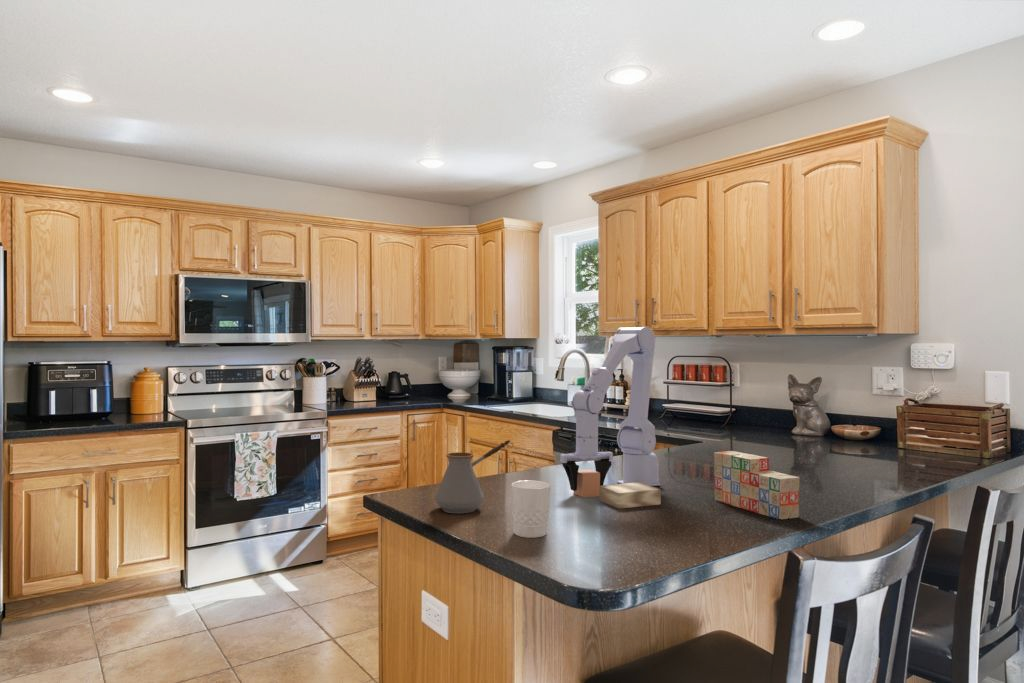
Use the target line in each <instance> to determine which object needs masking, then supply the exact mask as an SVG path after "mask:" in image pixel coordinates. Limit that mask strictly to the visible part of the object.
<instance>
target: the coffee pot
mask: <svg viewBox="0 0 1024 683" xmlns="http://www.w3.org/2000/svg"><path fill="white" fill-rule="evenodd" d="M509 444H511V445H512V446H510V445H509ZM506 445H507V446H508V447H509V448H510V449H511V448H513V447H514V443H513V442H512V441H511V440H510V439H507V440H505V441H504V442H501V443H500V444H499V445H497V446H495V447H493V448H492V449H490V450H488V452H486V453H485V454H483V455H482V456H480V457H479V458H478V459H476V460H474V461H472V458H473V457H474V453H470V452H448V453H446V455H445V456H446V458H447V460H448V465H447V468H446V470H445V472H444V475H443V477H442V479H441V482H440V484H439V486H438V488H437V491H436V494H435V496H434V501H435V503H436V504H437V506H438V507H439V508H441V509H442V511H444V512H445V513H448V514H449V513H450V514H468V513H469V514H470V513H472V512H475V511H476V510H477V508H479V507H480V506H481V505H482V504H483V502H484V499H485V497H484V496H485V495H484V493H483V490H482V488H481V486H480V483H479V480H478V478H477V476H476V473H475V471H474V468H473V467H475V466H476V465H478V464H479V463H481V462H482V461H484V460H485V459H487V458H489V457H491V456H492V455H494V454H496V453H498V452H499V451H500V450H501V449H502V448H505V446H506Z"/></svg>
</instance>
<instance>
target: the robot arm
mask: <svg viewBox="0 0 1024 683" xmlns="http://www.w3.org/2000/svg"><path fill="white" fill-rule="evenodd" d="M612 343H613V344H612V346H611V347H610V350H609V351H608V353H607V355H606V357H605V359H604V361H603V364H602V365H601V367H596V368H595V369H593V370H592V372H591V374H590V376H589V378H588V379H587V381H586V382H585V384H584V385H583V387H582V389H580V390H578V391H576V392H575V393H574V394H573V397H572V400H571V401H570V404H571V407H572V410H573V413H574V417H575V421H576V422H575V452H571V453H566V454H565V453H563V454H562V453H561V454H560V458H559V460H560V463H561V464H562V467H563V469H564V470H565V473H566V476H567V479H568V482H569V487H570V488H569V489H570V490H571V491H573V492H574V491H577V475H578V470H580V469H579V468H580V465H578V464H577V463H578V462H593V461H594V462H593V463H594V469H595V471H596V472H599V473H600V486H601V485H605V484H604V483H605V479H606V476H607V474H608V472H609V470H610V468H611V467H612V461H613V459H614V452H613V451H599V413H600V411H601V410H602V409H603V407H604V401H605V396H606V393H607V392H608V390H609V388H610V386H611V385H612V383H613V382H614V375H613V373H614V372H615V370H616V369H617V368H618V367H619V366H620V364H621V362H622V361H623V360H624V359H625V358H626V356H628V357H629V358H630V359H631V361H632V362H633V363H632V372H631V373H632V374H631V385H630V395H629V403H628V405H629V406H628V414H627V417H626V418H624V420H622V421H621V422H620V427H619V430H618V432H617V435H616V443H617V445H618V447H619V448H620V452H622V480H621V479H620V480H616V484H625V483H637V482H640V483H643V484H646V485H649V486H652V487H657V486H658V487H659V486H661V483H659V472H660V470H659V466H660V465H659V464H660V463H659V459H658V456H657V454H656V453H654V452H653V451H654V450H655V448H656V443H657V439H656V432H655V431H656V427H655V425H654V424H653V423H652V422H651V421H650V420H649V419H648V416H649V406H650V398H651V396H650V395H651V386H652V385H651V384H652V376H653V375H652V374H653V365H654V356H655V349H656V348H655V347H656V346H655V345H656V335H655V334H654V332H653V330H652V329H651V328H650V327H649V326H642V327H641V326H640V327H638V326H637V327H622V326H620V327H619V328H617V330H616V332H615V333H614V335H613V336H612ZM638 428H639V429H638Z"/></svg>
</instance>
